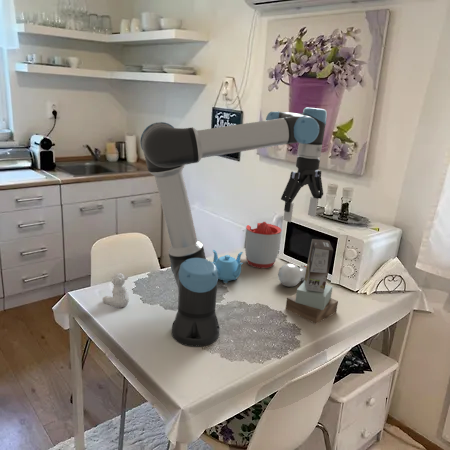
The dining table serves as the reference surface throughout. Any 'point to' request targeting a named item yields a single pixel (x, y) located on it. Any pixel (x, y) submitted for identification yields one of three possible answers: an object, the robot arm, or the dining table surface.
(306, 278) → the coffee box
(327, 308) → the tower base
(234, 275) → the teapot
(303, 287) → the tower top
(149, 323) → the dining table surface
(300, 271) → the potion bottle
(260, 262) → the citrus juicer
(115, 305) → the sitting furry creature
